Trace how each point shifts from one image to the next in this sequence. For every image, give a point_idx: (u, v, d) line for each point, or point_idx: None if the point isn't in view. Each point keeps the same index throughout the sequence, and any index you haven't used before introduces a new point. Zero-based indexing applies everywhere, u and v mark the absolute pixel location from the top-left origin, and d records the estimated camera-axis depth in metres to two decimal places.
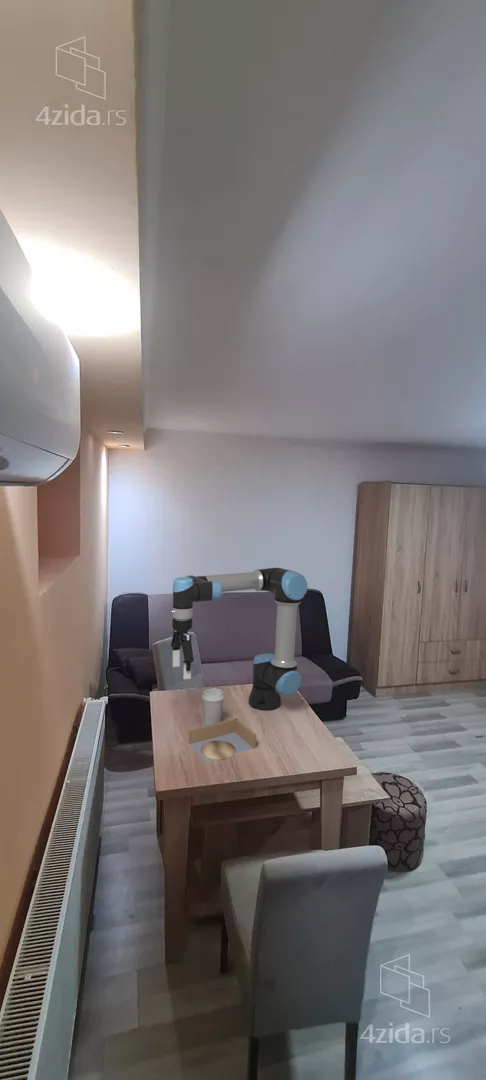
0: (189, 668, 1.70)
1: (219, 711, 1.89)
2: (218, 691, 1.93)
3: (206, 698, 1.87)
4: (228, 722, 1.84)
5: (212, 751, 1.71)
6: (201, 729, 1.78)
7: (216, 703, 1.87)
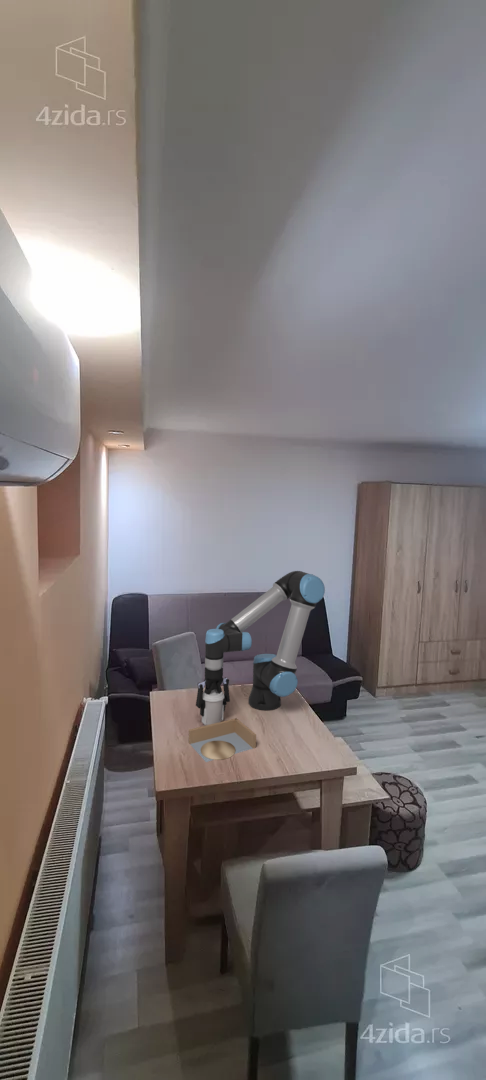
0: (201, 713, 1.88)
1: (219, 711, 1.89)
2: None
3: (206, 698, 1.87)
4: (228, 722, 1.84)
5: (212, 751, 1.71)
6: (201, 729, 1.78)
7: (216, 703, 1.87)
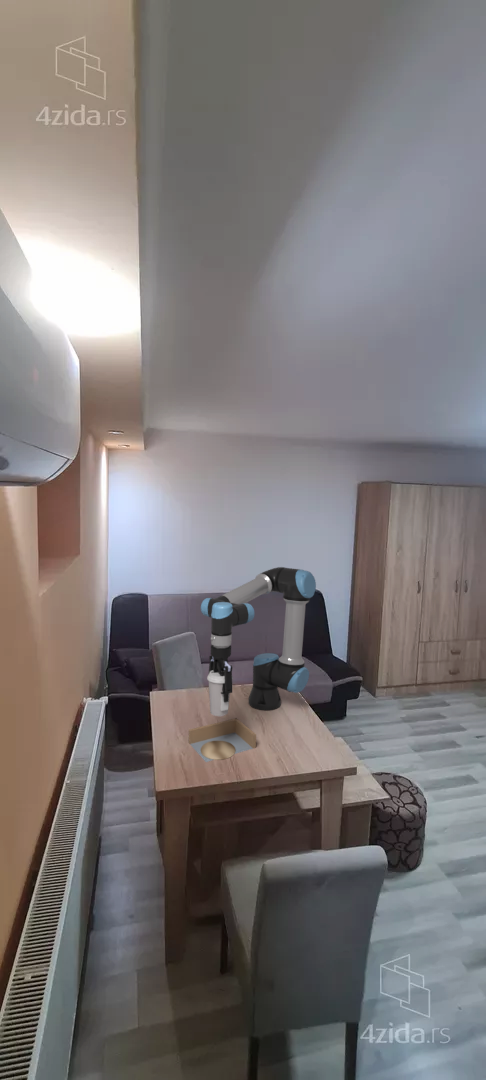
0: (227, 699, 1.66)
1: None
2: (213, 672, 1.72)
3: None
4: (228, 722, 1.84)
5: (212, 751, 1.71)
6: (201, 729, 1.78)
7: None
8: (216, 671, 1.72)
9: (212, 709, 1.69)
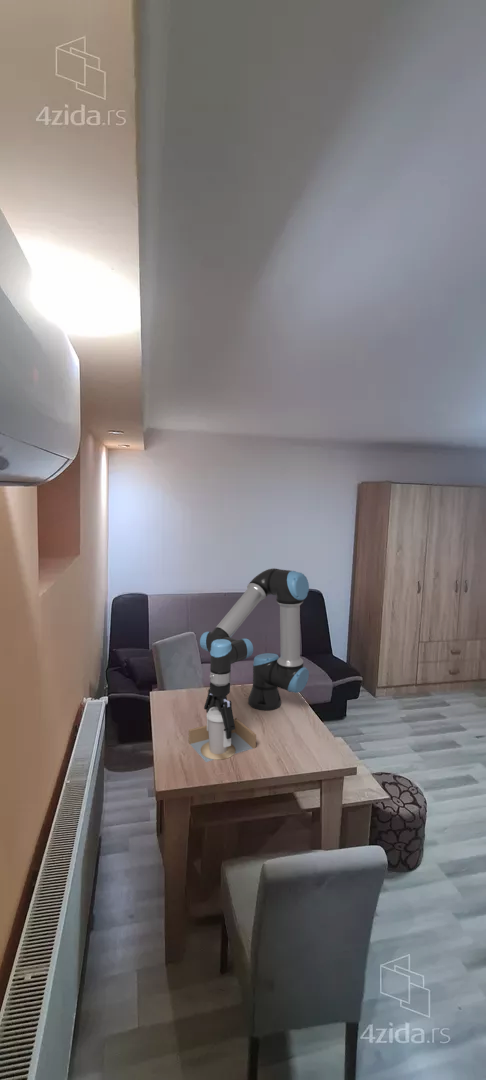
0: (230, 736, 1.65)
1: None
2: (213, 710, 1.73)
3: None
4: None
5: None
6: (201, 729, 1.78)
7: None
8: (213, 705, 1.74)
9: (211, 747, 1.70)
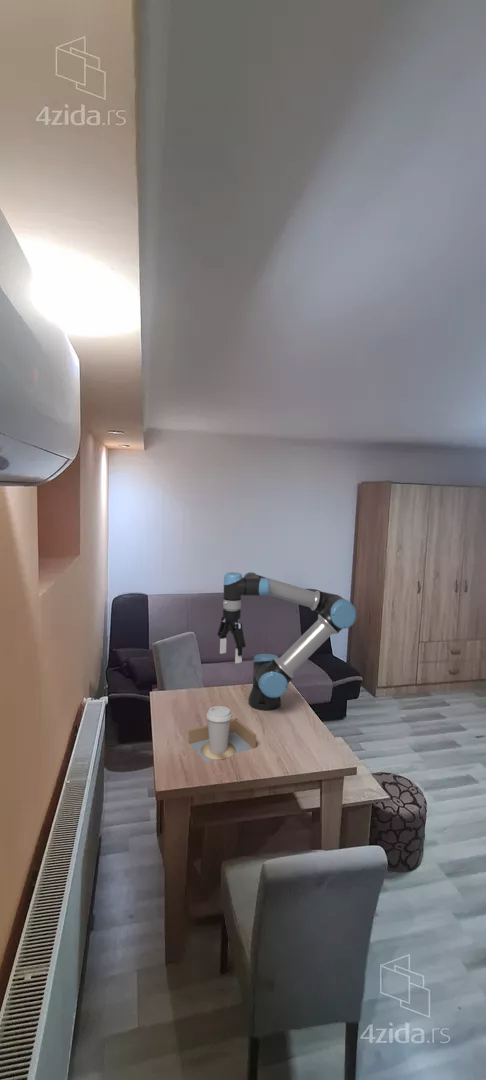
0: (241, 653, 1.91)
1: None
2: (213, 710, 1.73)
3: (229, 717, 1.69)
4: None
5: None
6: (201, 729, 1.78)
7: None
8: (226, 630, 2.00)
9: (211, 747, 1.70)
